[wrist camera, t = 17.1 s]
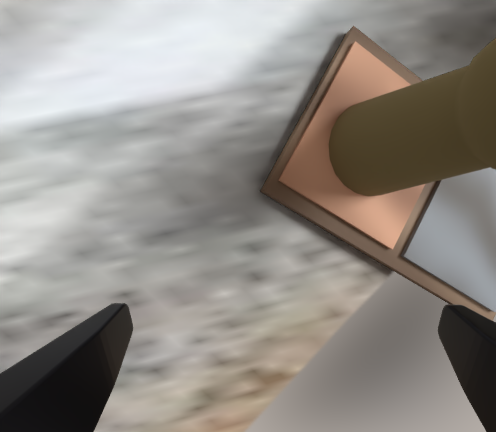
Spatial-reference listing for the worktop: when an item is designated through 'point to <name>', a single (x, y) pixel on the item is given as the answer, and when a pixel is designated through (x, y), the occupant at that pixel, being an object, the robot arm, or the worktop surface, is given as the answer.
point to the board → (395, 203)
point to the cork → (419, 131)
